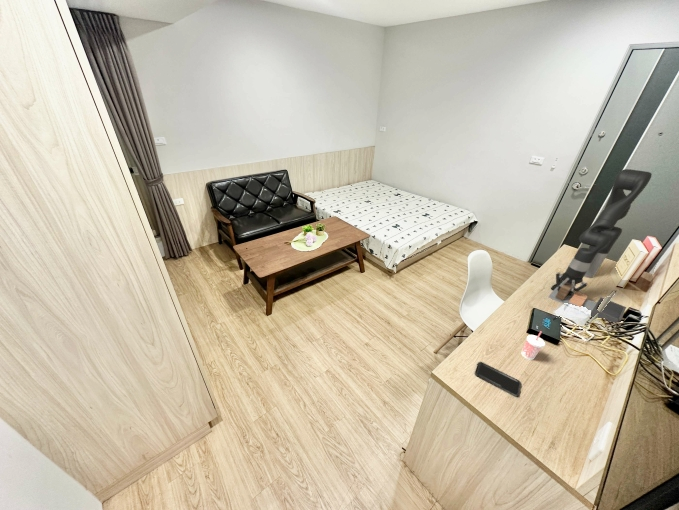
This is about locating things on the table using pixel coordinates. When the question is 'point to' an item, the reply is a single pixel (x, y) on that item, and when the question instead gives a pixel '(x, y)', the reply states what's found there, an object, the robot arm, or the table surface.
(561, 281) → the hairbrush
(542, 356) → the table surface
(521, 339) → the table surface
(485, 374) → the phone
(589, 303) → the board
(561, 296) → the brown wooden block
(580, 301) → the tile
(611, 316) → the tray
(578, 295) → the tile
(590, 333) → the phone case
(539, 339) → the beverage cup
